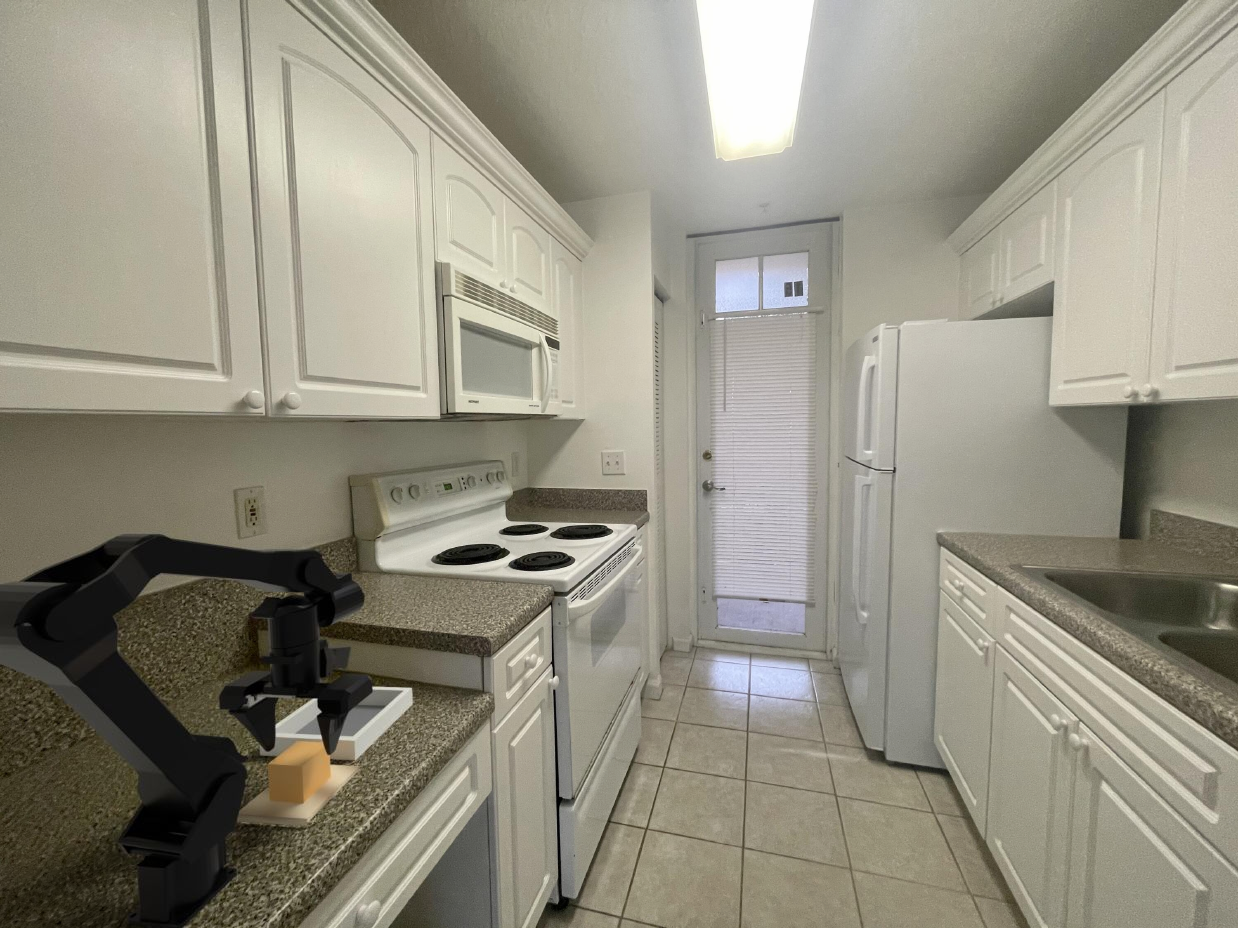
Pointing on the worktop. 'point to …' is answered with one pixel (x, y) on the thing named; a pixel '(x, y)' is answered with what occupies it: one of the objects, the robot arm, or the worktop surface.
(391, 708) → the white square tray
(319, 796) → the pad
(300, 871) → the worktop surface
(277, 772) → the block
